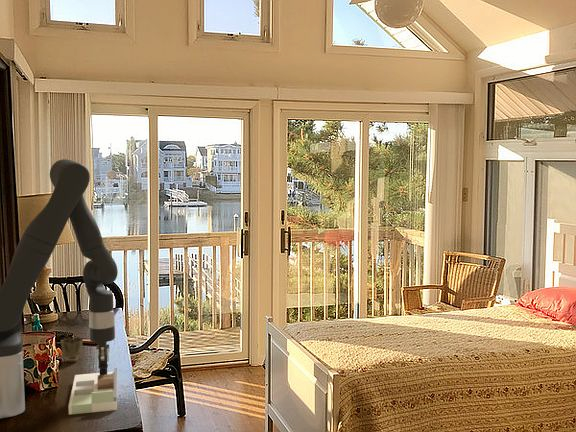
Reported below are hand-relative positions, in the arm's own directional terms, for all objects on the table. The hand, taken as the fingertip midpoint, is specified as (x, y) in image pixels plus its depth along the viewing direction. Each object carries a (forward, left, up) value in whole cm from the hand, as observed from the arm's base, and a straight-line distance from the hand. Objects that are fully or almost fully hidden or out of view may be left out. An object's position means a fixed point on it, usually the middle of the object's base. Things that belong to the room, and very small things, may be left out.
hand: (103, 379), depth 199 cm
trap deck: (-4, -2, -3) cm, 6 cm away
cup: (+15, +33, -4) cm, 37 cm away
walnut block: (-2, -4, -1) cm, 4 cm away
